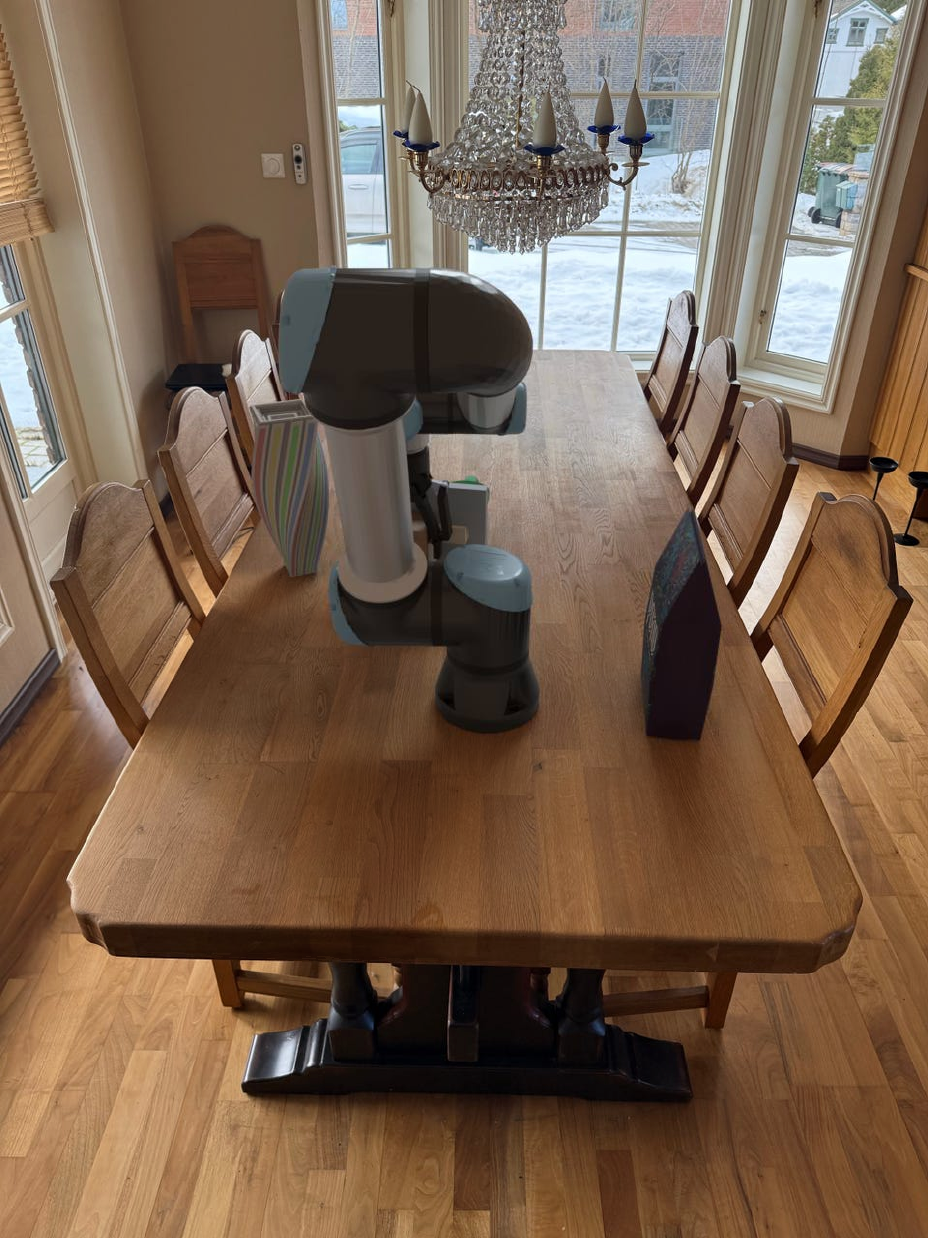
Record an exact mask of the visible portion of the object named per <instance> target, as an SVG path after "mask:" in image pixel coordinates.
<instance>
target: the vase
mask: <svg viewBox="0 0 928 1238" xmlns="http://www.w3.org/2000/svg"><path fill="white" fill-rule="evenodd" d="M248 409H249V411H250V414H251V418H252V422H253V428H254V429H253V430H254V431H253V432H254V443H253V453H252V463H251V487H252V493H253V497H254V501H255V502H254V503H255V504H256V508H257V511H258V513H259V515H260V516H259V517H260V518H261V520H262V522H263V524H264V527H265V529H266V530H267V533H268V534H269V536H270V538H271V540H272V541H273V543H274V545H275V547H276V549H277V551H278V552H279V554H280V556H281V558H282V560H283V563H284V565H285V568H286V570H287V573H288V575H289V577H290V578H295V577H300V576H303V575H304V576H305V575H311V574H316V573H318V570H319V563H320V559H321V555H322V551H323V547H324V542H325V538H326V532H327V528H328V527H327V525H328V519H329V509H330V483H329V481H330V480H329V472H328V465H327V461H326V455H325V452H324V448H323V444H322V440H321V437H320V434H319V432H318V426H319V425H318V424H319V422H317V421H316V420H315V419H314V418H313V417H312V416H311V415H310V414H309V412H308V410H307V408H306V405H305V400H304V398H297V399H291V400H290V399H289V400H282V401H281V400H280V401H274V402H265V403H258V404H257V403H256V404H250V406H248Z"/></svg>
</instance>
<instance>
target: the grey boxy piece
mask: <svg viewBox="0 0 928 1238" xmlns="http://www.w3.org/2000/svg"><path fill="white" fill-rule="evenodd" d="M485 485H486V484H484V485H473V484H460V483H449V488H448V492H447V496H448V502H449V509H450V516H451V523H452V530H453V533H452V535H451V537H450V539H449V541H442V554H441V556H440V559H436V561H444V560H445V558H446V557H447V555H448V553H449V552H450V551H452V550H453V549H455V548H458V547H460V548H463V546H465V545H473V544H478V545H488V519H489V518H488V516H489V515H488V514H489V513H488V507H489V502H488V488H489V486H488V485H486V486H485ZM426 493H427V496H428V500H429V503H430V506H431V508H432V510H433V512H436V520H437V522H438V525H439V527H440V529H441V523H440V517H439V510H438V504H437V495H435V493H434V489H433V488H432V487H430V488H429V489H428V491H427V492H426ZM410 503H411V510H418V511H419V509H418V508H417V507H416V505H415V503H413V502H410ZM441 531H442V530H441Z"/></svg>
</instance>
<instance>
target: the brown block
mask: <svg viewBox="0 0 928 1238" xmlns="http://www.w3.org/2000/svg"><path fill="white" fill-rule="evenodd" d="M433 513H434V515H435V518H436V512H433ZM411 515H412V527H413V539H414V542H415V543H416V544H417V545H418V546H419V547H420V548H421V549H422V551H423V552H424V554H425V557H426V560H427V561H428V543H429V541H430V539H431V537H430V534H429V532H428V530H427V527H426V525H425V523H424V520H423V518H422V516H421V513H420V511H418V510H411Z"/></svg>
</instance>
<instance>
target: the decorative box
mask: <svg viewBox="0 0 928 1238" xmlns="http://www.w3.org/2000/svg"><path fill="white" fill-rule="evenodd" d="M700 532H701V531H700V529H699V524H698V520H697V515H696V511H695V507H693V508H692V509H691V511H690V509H689V507H687V509H686V510H685V512H684V513H683V515H682V517H681V518H680V520H679V522H678V525H677V526H676V528H675V529H674V531H673V533H672V535H671V536H670V538H669V540H668V542H667V543H666V546H665V547H664V549H663V551H662V552H661V555H660V556H659V558H658V559H657V561H656V563H655V565H654V569H653V574H652V578H651V579H652V580H651V585H650V589H649V593H648V594H649V595H648V599H647V605H646V611H645V616H644V622H643V631H642V632H643V633H642V645H641V646H642V648H641V662H640V680H641V692H642V701H643V702H642V703H643V715H644V726H645V736H646V737H651V738H659V739H667V740H672V741H673V740H675V741H676V740H677V741H679V740H681V741H682V740H685V741H686V740H691V739H696V740H695V741H700V740H701V738H702V735H703V730H704V727H705V722H706V719H707V713H708V709H709V706H710V701H711V698H712V693H713V689H714V684H715V677H716V671H717V664H718V656H719V649H720V642H721V634H722V627H723V626H722V625H723V624H722V620H721V617H720V613H719V612H720V611H719V608H718V604H717V603H718V602H717V599H716V594H715V591H714V586H713V582H712V578H711V574H710V570H709V566H708V560H707V558H706V557H707V556H706V551H705V550H704V549H705V548H704V545H703V539H702V537H701V533H700Z"/></svg>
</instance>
